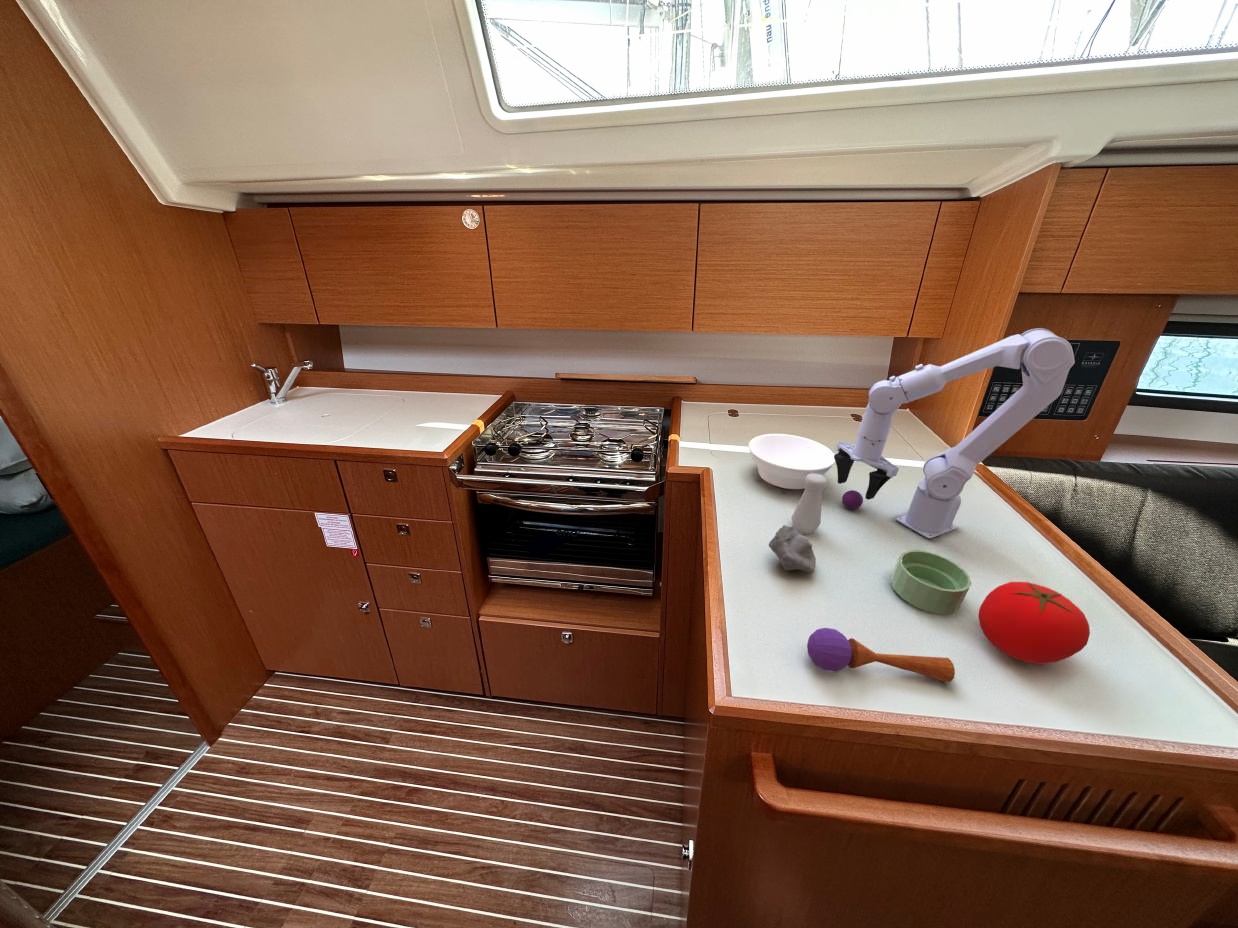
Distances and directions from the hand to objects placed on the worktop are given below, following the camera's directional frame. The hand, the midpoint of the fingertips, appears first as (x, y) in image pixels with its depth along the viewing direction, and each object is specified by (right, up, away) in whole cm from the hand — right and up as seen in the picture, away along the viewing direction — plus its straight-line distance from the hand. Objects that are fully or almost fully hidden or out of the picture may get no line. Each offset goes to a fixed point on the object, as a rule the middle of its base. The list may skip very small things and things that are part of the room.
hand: (855, 490), depth 108 cm
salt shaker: (-14, -8, -6) cm, 18 cm away
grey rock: (-22, -14, -18) cm, 31 cm away
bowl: (-11, +2, +14) cm, 18 cm away
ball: (0, -2, +1) cm, 3 cm away
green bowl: (+1, -17, -23) cm, 29 cm away
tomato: (+9, -23, -33) cm, 42 cm away
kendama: (-17, -25, -38) cm, 49 cm away
